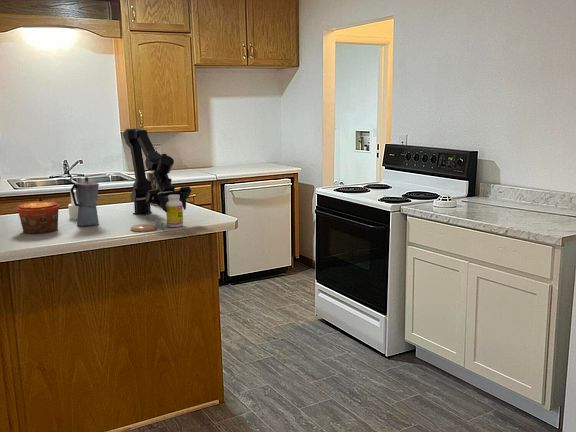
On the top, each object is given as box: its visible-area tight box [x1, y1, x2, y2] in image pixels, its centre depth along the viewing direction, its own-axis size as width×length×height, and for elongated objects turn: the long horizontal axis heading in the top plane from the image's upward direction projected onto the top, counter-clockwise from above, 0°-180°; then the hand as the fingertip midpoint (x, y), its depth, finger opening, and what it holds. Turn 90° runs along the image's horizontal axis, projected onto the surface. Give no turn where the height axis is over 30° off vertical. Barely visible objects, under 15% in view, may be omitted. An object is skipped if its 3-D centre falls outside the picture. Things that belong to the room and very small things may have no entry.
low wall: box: [155, 218, 164, 231], centre depth 231 cm, size 10×1×2 cm, turn 26°
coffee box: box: [146, 171, 159, 207], centre depth 283 cm, size 9×6×16 cm
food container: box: [15, 201, 61, 235], centre depth 226 cm, size 16×16×11 cm
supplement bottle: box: [165, 195, 184, 228], centre depth 233 cm, size 7×7×13 cm
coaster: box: [130, 223, 157, 233], centre depth 228 cm, size 10×10×1 cm
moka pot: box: [70, 177, 100, 227], centre depth 235 cm, size 10×15×20 cm, turn 161°
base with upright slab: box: [68, 189, 79, 220], centre depth 252 cm, size 9×9×12 cm
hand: (175, 210), depth 232 cm, fingers open, 8 cm apart
